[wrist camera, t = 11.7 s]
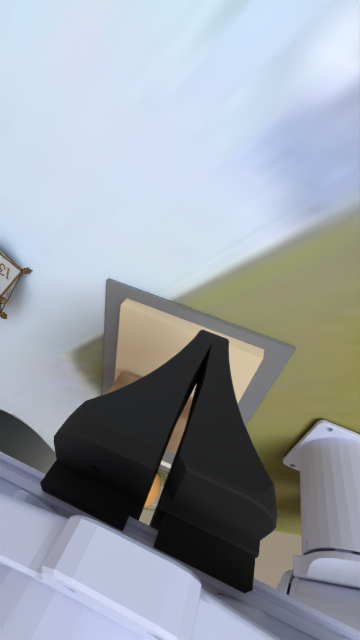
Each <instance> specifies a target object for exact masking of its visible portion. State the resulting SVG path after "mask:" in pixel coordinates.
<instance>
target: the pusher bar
mask: <svg viewBox="0 0 360 640" xmlns="http://www.w3.org/2000/svg"><path fill="white" fill-rule="evenodd" d="M138 379H140V378H137V377H135V376H132V375H130V374H128V373H125V372H123V371H122V372H121V373H120V375H119V376H118V378H117V379H116V380H115V382H114V383H113V385H112V386H111V388H110V389H109V390H108V392H107V393H110V392H112V391H115V390H117V389H119V388H121V387H124V386H126V385H128V384H130V383H132V382H134V381H136V380H138ZM107 393H106V394H107ZM191 403H192V400H190V399H188V401H187V403H186V405H185V407H184V409H183V411H182V413H181V415H180V417H179V419H178V422H177V424H176V426H175V428H174V431H173V433H172V436H171V438H170V441H169V443H168V446H167V448H166V450H168V451H170V452H172V453H174V454H176V452H177V449H178V446H179V443H180V441H181V438H182V435H183V432H184V429H185V426H186V422H187V418H188V415H189V411H190V407H191Z"/></svg>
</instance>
